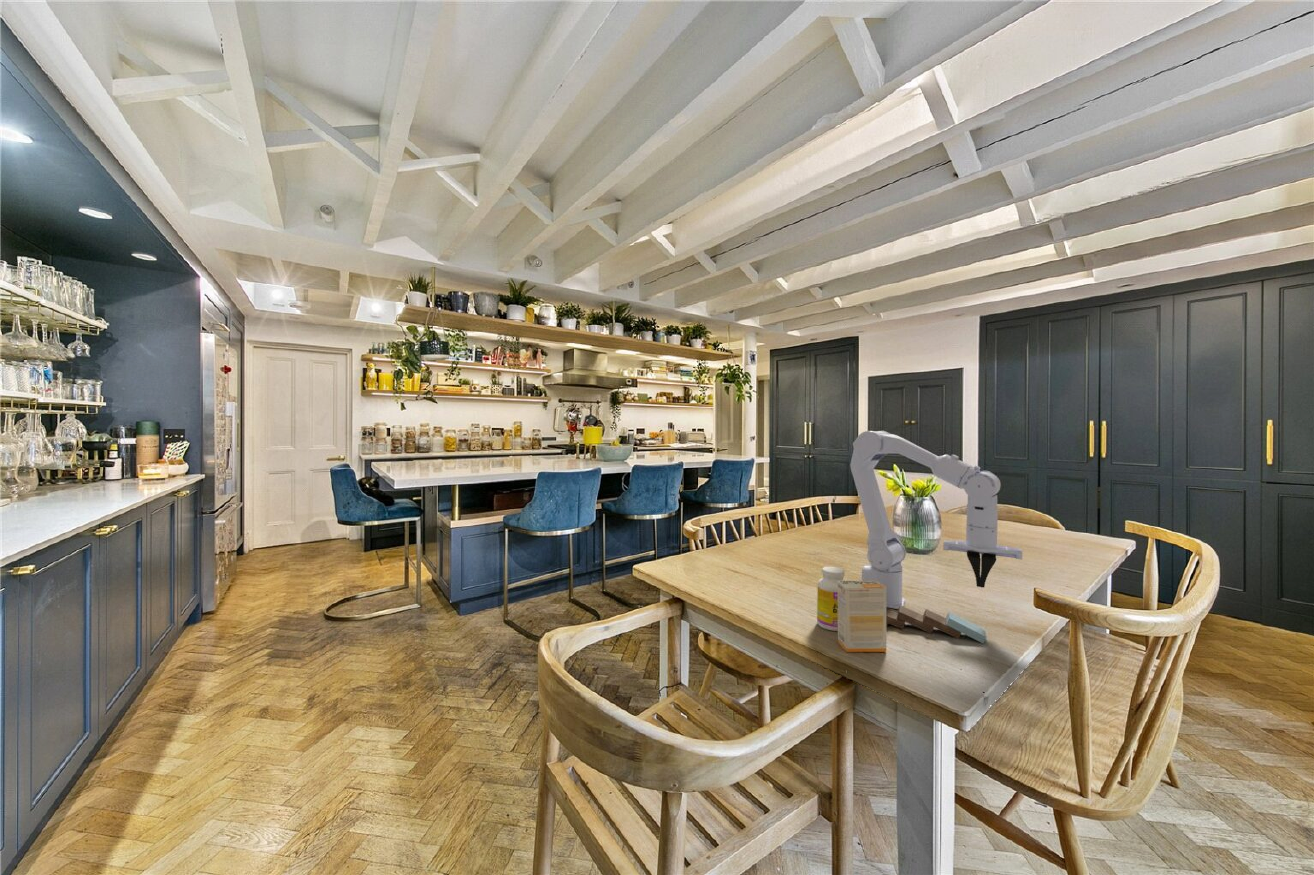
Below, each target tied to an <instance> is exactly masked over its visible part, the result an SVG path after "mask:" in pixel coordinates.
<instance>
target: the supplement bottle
mask: <svg viewBox="0 0 1314 875" xmlns="http://www.w3.org/2000/svg"><path fill="white" fill-rule="evenodd" d="M821 571H822V572H821V573H822V574H821V575H822V578H820V579H819V580H818V581H817V593H816V594H817V596H816V597H817V602H816V604H817V606H816V612H817V613H816V614H817V615H816V621H817V624H818V626H819V627H821V629H825V630H827V631H833V632H838V582H837V581H845V579H844V577H845V570H844V569H843V568H841V567H837V566H824V567H822V570H821Z"/></svg>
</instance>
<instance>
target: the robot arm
mask: <svg viewBox="0 0 1314 875" xmlns="http://www.w3.org/2000/svg"><path fill="white" fill-rule="evenodd" d="M852 447H853V451H852V455H851V460H850V464H849V465H850V471H851V474H852V477H853V480H854V485H855V488H856V491H857V494H858V497H859V502H860V504H861V509H862V512H863V515H864V516H863V517H864V520H865V523H866V526H867V529H868V536H867V538H866V545H867V552H866V554H867V555H866V558H867V561H868V562H869V564H870V565H868V564H867V565H863V566H862V568H861V570H862V571H861V581H877V582H879V583H880V584H882V585H883V586H884V587H886V608H887V609H888V608H889V609H896V610H898V609H899V607H900V605H901V606H903V607H905V600H906V599H905V598H903V565H902V562H904V560H905V558H906V554H907V550H906V548H905V546H904V545H903V543H902V542H901V541H900V539H899V538H898V534H897V533H896V531H894V530H893V529H892V527H891V524H890V520H889V517H888V514H887V511H886V507H885V503H884V501H883V497H882V493H881V491H880V487H879V484H878V480H877V477H876V474H875V471H874V469H875V467H876V466H877V464H878V463H879V461H880V460H881V459H882V458H885V457H886V455H888V454H898V455H901V456H903V457H906V458H908V459H909V460H912V461H915V462H917V463H919V464H920V465H924V466H925V467H928V468H930V469H931V472H932V474H933V476H934V477H936V478H938V479H940V480H942V481H944V482H946V483H948V484H950V485H952V486H954V487H957V488H958V489H960V490H962V489H964V492H965V494H967V503H966V524H965V525H966V526H965V527H966V528H965V531H966V534H965V537H966V540H965V541H959V540H947V539H946V540H943V541H942V542H943V543H942V544H943V546H942V548H943V551H947V552H948V551H954V552H962V553H963V552H964V553H966V556H967V560H968V561H969V563H970V566H971V568H972V570H973V573H974V577H975V581H976V583H975V584H976V587H978V588H983V589H984V588H985V586H986V581H987V579H988V575H989V574H990V572H991V570H992V568H993V566H995V564H996V562H997V557H1004V558H1011V559H1015V560H1023V550H1022V548H1017V547H1011V546H1004V545H998V516H999V515H998V513H999V512H998V511H999V510H998V509H999V508H998V495H997V494H998V493H999V492H1000V490H1001V480H1000V478H999V477H998V476H997V475H996V474H994V473H992V472H991V471H988V470H981V467H980V466H978V465H975V466H973V465H971V464H969V463H966V462H964V461H962V460H960V459H959V458H960V457H959V456H958V455H956V454H951V455H949V454H944V455H943V454H942V455H939V456H938V455H937V454H934V453H933V452H930V451H929V450H927V449H925V448H923V447H921V446H919V445H917V444H916V443H913V442H911V441H909V440H908V439H905V438H903V437H901V436H899V435H897V434H892V433H890V432H887V431H885V430H878V431H874V430H867V431H862V432H861V433H859V435H858V436H857V437H856V438H855V440H854V441H853V443H852Z"/></svg>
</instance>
